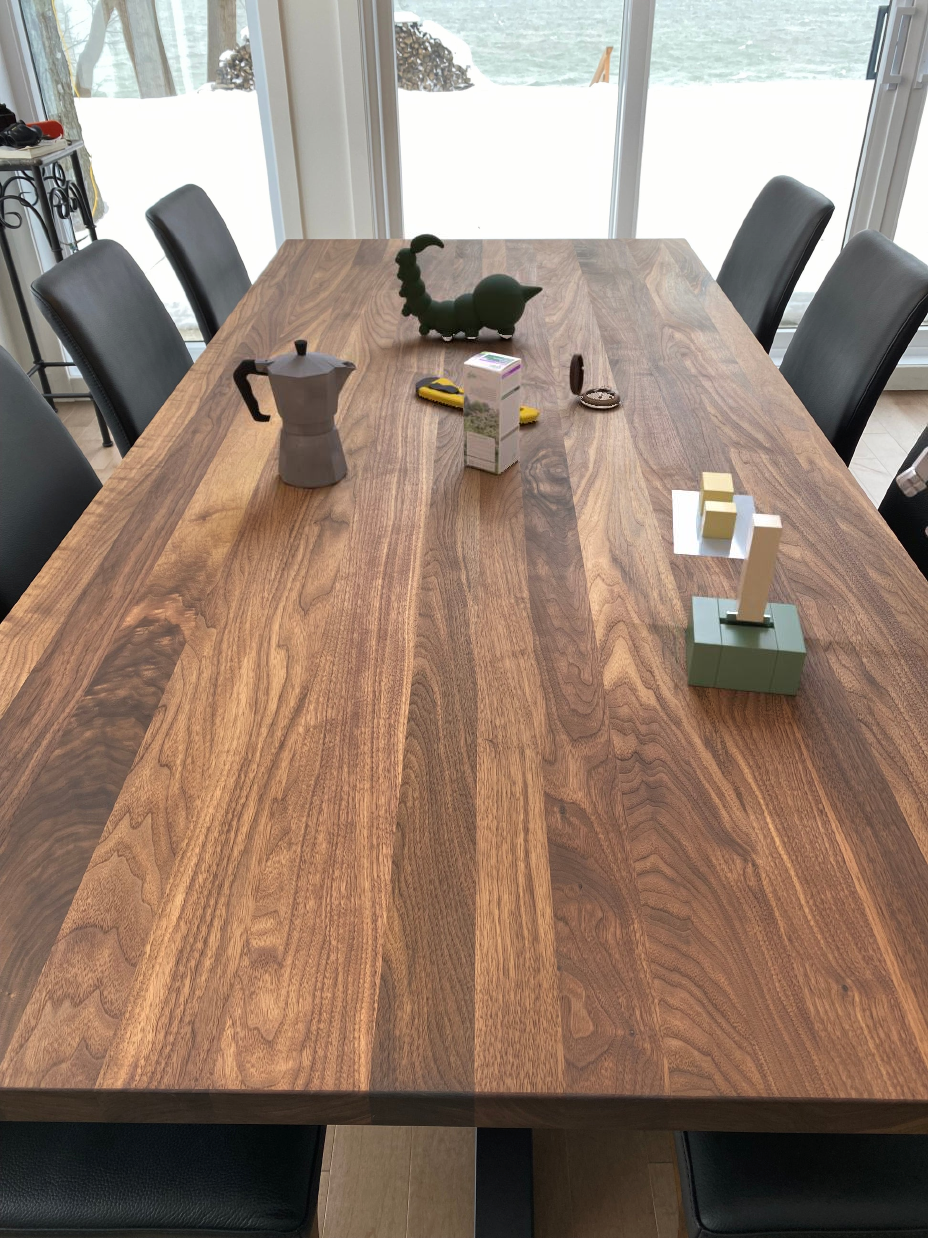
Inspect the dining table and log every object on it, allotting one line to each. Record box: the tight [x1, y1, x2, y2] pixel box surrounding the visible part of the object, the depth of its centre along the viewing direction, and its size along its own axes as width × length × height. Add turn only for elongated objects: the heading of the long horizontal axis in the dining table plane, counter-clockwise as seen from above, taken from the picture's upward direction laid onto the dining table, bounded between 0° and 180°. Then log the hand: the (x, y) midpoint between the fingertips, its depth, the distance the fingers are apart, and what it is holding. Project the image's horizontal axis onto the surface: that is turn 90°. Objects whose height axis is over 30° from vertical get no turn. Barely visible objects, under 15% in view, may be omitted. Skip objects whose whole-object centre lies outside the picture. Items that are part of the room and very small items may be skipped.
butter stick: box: [698, 471, 735, 516], centre depth 119 cm, size 4×5×4 cm
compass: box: [568, 353, 621, 406], centre depth 149 cm, size 8×8×7 cm
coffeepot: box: [232, 338, 357, 489], centre depth 125 cm, size 15×9×18 cm, turn 92°
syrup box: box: [462, 351, 522, 475], centre depth 128 cm, size 6×6×14 cm
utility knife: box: [414, 376, 540, 425], centre depth 149 cm, size 7×22×2 cm, turn 55°
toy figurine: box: [394, 233, 544, 338], centre depth 170 cm, size 9×19×25 cm
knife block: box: [684, 595, 808, 696], centre depth 94 cm, size 8×10×5 cm
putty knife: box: [725, 513, 783, 628], centre depth 90 cm, size 4×2×16 cm, turn 81°
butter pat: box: [701, 501, 737, 539], centre depth 113 cm, size 4×2×4 cm
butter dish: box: [671, 489, 757, 560], centre depth 117 cm, size 10×16×1 cm, turn 171°
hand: (915, 513), depth 84 cm, fingers open, 8 cm apart
